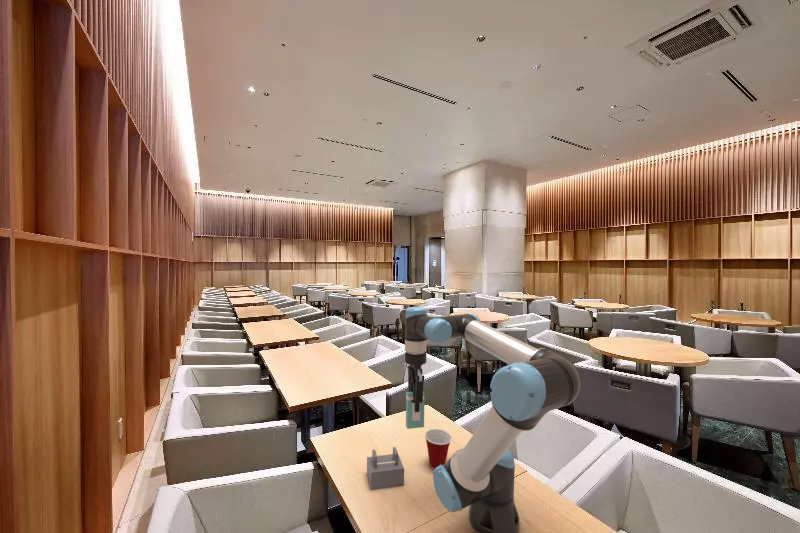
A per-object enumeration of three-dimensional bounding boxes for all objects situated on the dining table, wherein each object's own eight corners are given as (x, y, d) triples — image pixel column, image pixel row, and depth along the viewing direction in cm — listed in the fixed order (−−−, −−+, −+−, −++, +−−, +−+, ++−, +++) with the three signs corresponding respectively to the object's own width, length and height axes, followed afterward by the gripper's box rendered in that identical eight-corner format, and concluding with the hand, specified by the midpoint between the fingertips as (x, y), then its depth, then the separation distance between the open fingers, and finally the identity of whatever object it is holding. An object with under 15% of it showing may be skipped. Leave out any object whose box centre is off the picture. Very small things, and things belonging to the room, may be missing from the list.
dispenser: (403, 485, 127) (404, 457, 127) (370, 489, 124) (371, 461, 124) (397, 468, 137) (398, 443, 137) (366, 472, 134) (367, 446, 134)
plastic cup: (441, 477, 132) (441, 445, 132) (418, 465, 139) (418, 435, 139) (457, 464, 140) (457, 434, 140) (434, 454, 147) (435, 425, 147)
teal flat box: (424, 427, 124) (424, 393, 124) (407, 428, 123) (407, 394, 122) (422, 424, 126) (422, 390, 126) (405, 425, 125) (406, 392, 125)
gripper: (432, 356, 117) (432, 427, 118) (419, 345, 132) (419, 408, 133) (411, 358, 116) (410, 429, 116) (400, 346, 130) (399, 410, 131)
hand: (415, 418), depth 124 cm, fingers closed on teal flat box, 2 cm apart
